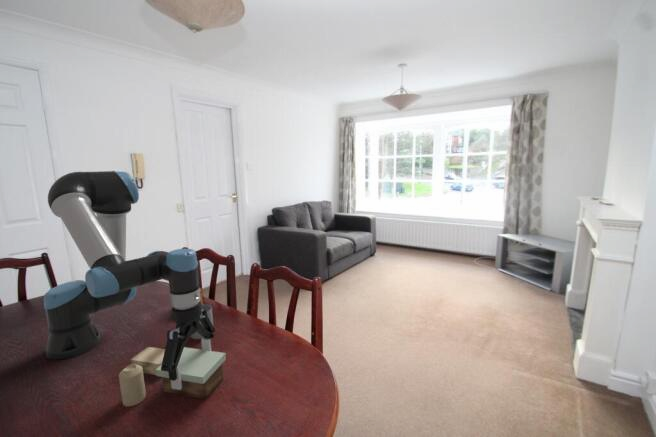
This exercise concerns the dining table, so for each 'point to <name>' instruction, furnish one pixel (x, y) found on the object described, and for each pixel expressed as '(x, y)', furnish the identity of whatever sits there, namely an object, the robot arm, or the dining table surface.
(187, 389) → the walnut box
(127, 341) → the dining table surface
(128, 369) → the candle
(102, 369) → the dining table surface
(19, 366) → the dining table surface
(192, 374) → the lid
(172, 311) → the robot arm
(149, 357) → the block
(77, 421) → the dining table surface
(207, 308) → the cup
